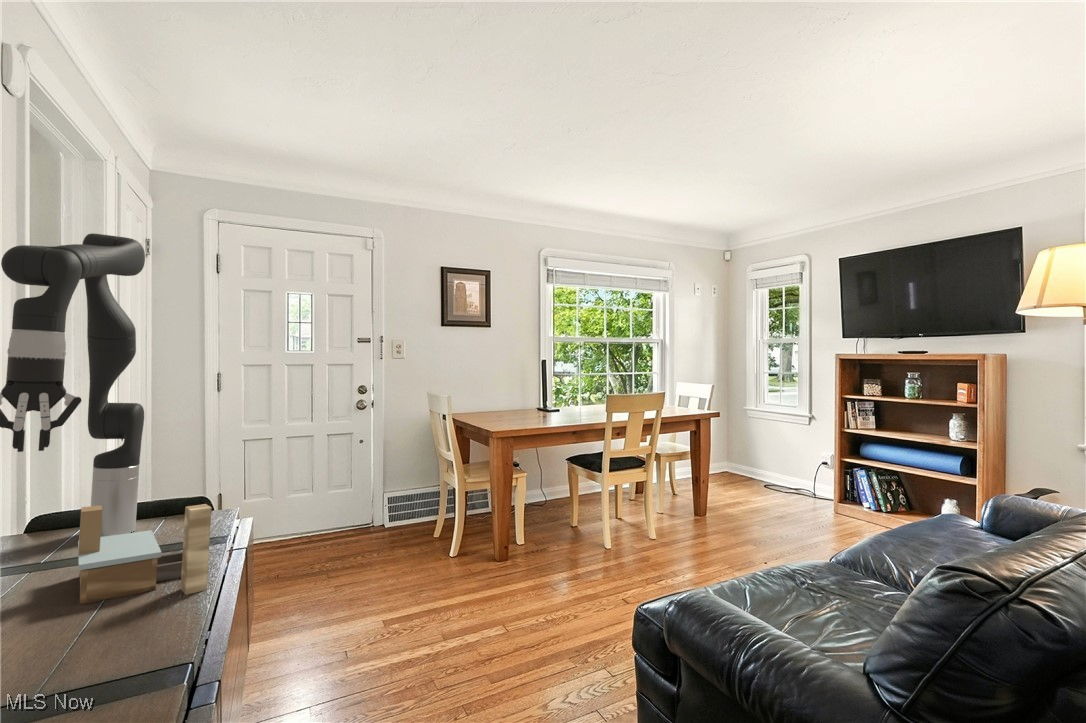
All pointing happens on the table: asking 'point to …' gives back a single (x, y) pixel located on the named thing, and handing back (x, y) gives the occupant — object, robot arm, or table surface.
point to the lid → (111, 543)
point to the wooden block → (195, 548)
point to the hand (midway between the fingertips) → (30, 450)
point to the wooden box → (127, 577)
